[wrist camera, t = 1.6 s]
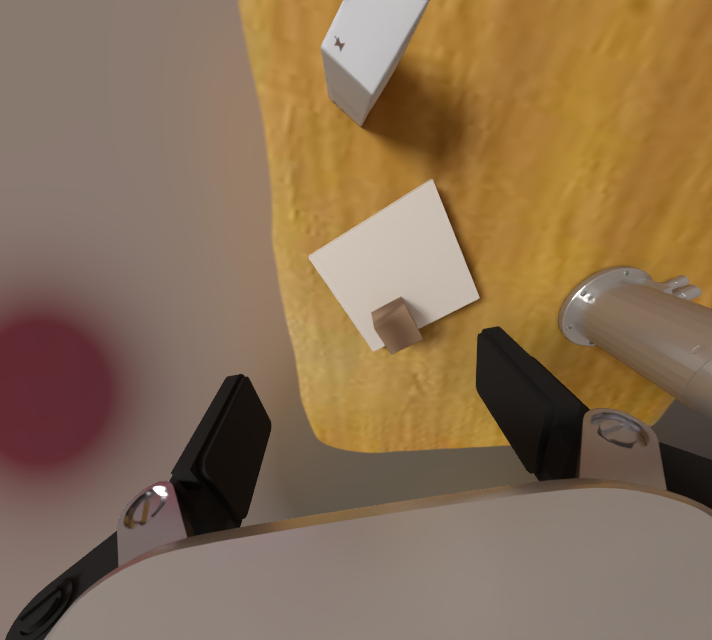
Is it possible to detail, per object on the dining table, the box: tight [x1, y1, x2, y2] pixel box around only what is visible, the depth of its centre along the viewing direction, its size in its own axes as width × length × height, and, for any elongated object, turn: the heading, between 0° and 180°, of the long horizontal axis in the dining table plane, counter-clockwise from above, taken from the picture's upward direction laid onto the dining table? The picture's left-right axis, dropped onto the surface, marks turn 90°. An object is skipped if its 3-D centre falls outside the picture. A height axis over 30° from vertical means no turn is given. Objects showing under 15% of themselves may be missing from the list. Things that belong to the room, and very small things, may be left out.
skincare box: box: [321, 0, 430, 126], centre depth 21 cm, size 6×4×12 cm
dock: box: [308, 179, 480, 352], centre depth 34 cm, size 16×16×3 cm
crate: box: [371, 297, 423, 355], centre depth 34 cm, size 4×4×4 cm
